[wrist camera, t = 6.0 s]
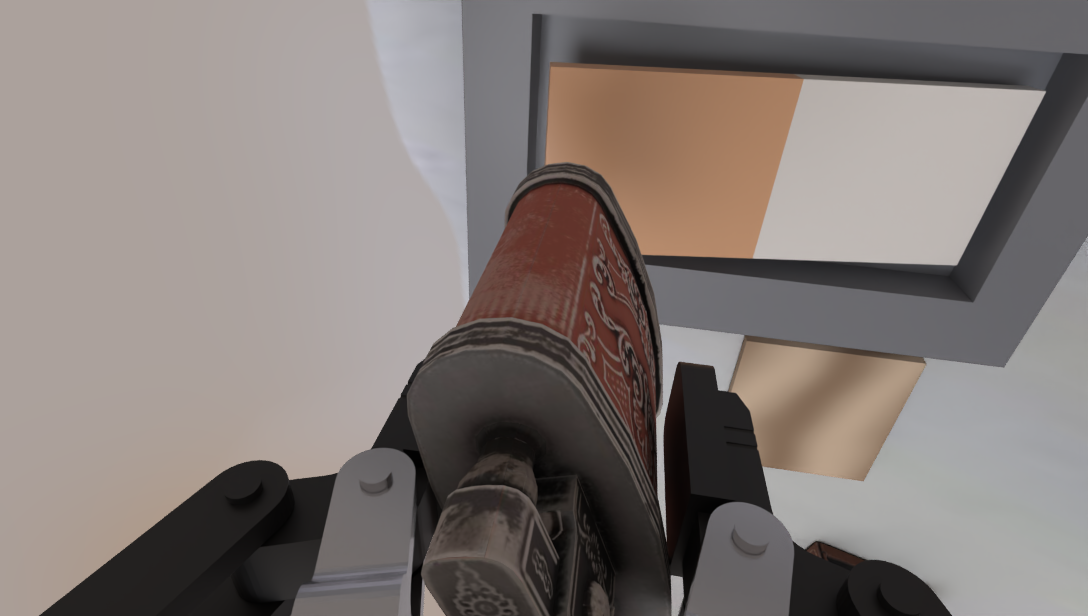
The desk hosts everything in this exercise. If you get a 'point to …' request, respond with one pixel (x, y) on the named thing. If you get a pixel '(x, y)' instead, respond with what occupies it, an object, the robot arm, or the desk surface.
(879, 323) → the gray rectangular recessed tray
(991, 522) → the desk surface
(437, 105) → the desk surface
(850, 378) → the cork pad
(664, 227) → the two-tone tile
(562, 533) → the lighter
